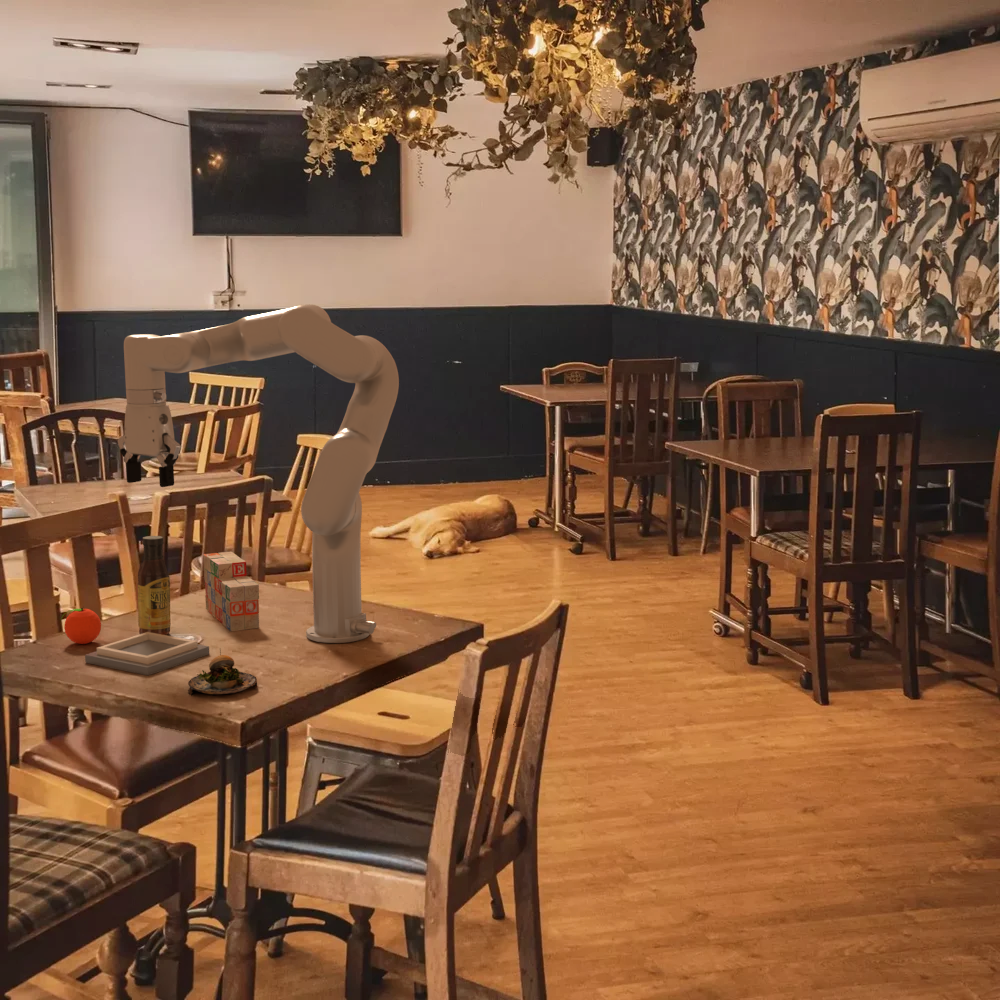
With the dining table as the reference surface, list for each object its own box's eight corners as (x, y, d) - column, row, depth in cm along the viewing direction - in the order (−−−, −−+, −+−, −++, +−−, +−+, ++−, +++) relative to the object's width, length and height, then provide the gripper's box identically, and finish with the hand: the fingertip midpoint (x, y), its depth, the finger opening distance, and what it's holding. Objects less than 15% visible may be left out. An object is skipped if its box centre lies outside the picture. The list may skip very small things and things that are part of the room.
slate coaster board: (209, 654, 259) (208, 640, 258) (147, 675, 245) (147, 661, 245) (148, 642, 267) (147, 629, 266) (85, 662, 253) (84, 648, 253)
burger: (179, 700, 232) (178, 658, 231) (198, 679, 244) (196, 639, 242) (249, 701, 231) (248, 658, 230) (264, 680, 243) (263, 640, 242)
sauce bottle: (154, 640, 268) (150, 541, 265) (132, 636, 271) (127, 538, 268) (178, 633, 274) (174, 536, 270) (156, 628, 277) (152, 533, 274)
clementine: (53, 647, 264) (51, 611, 262) (69, 637, 270) (67, 603, 269) (93, 648, 263) (91, 613, 261) (107, 639, 269) (106, 604, 268)
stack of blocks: (260, 628, 277) (258, 569, 275) (230, 632, 275) (228, 572, 273) (233, 605, 296) (231, 550, 294) (205, 608, 294) (202, 552, 292)
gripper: (191, 398, 265) (194, 485, 268) (132, 394, 275) (136, 478, 278) (160, 401, 259) (165, 490, 262) (102, 397, 269) (106, 482, 272)
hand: (150, 484), depth 270 cm, fingers open, 9 cm apart
